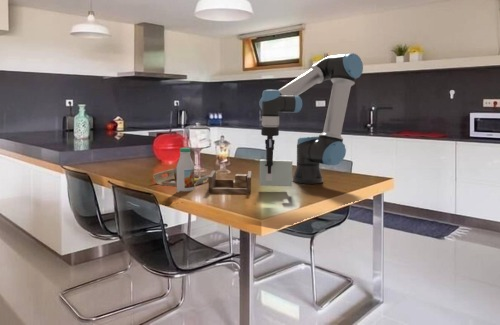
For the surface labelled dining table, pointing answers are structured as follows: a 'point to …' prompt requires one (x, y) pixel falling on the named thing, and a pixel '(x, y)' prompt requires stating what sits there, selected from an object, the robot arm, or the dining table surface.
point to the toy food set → (175, 178)
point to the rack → (227, 185)
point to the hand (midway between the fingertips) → (268, 179)
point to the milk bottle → (185, 171)
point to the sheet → (276, 173)
